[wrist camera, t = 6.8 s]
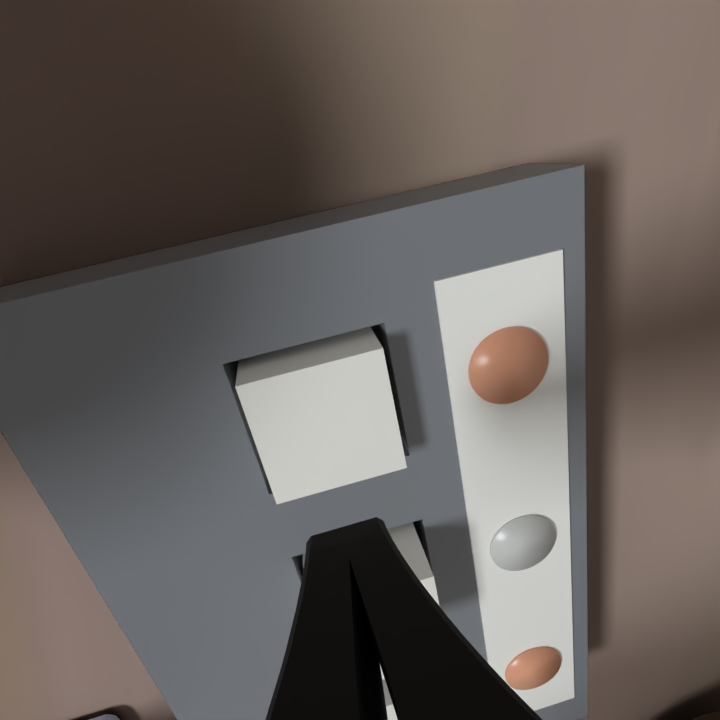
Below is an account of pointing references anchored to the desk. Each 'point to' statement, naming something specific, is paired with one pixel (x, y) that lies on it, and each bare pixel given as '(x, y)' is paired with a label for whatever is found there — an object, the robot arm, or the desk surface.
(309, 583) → the robot arm
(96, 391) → the button panel
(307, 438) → the button
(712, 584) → the desk surface
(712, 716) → the alarm clock
